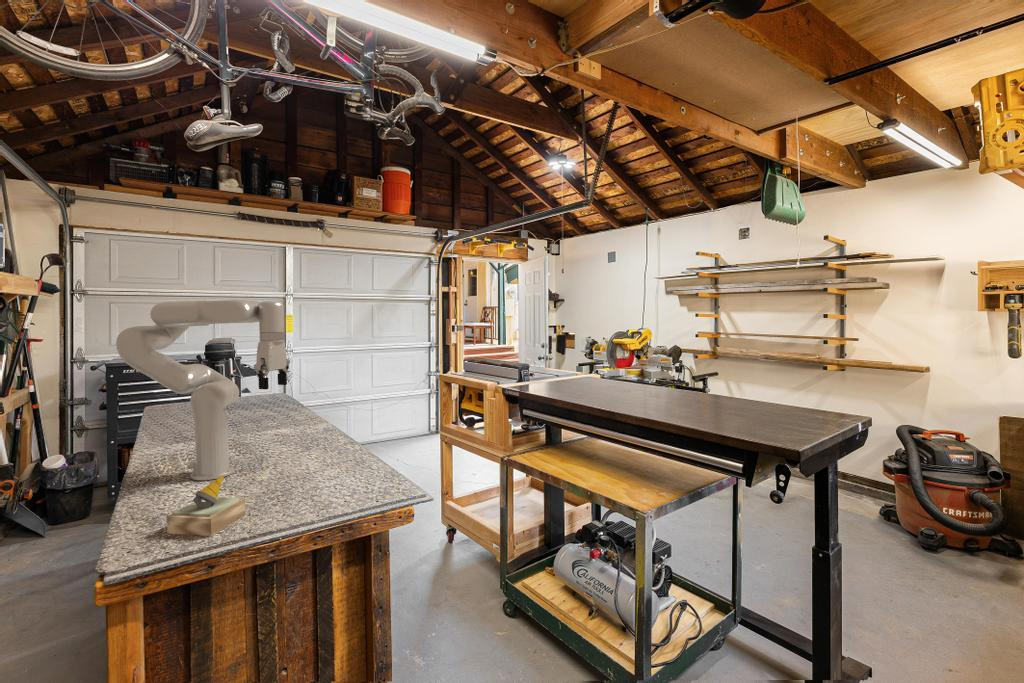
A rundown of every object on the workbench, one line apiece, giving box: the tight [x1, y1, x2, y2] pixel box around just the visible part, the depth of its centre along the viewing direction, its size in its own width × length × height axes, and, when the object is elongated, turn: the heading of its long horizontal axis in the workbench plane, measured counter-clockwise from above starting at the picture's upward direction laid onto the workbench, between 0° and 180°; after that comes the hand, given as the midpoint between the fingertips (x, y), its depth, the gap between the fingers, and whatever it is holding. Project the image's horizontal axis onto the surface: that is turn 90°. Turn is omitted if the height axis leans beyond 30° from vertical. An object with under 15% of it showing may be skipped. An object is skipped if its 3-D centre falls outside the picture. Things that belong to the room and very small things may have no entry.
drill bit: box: [193, 474, 225, 509], centre depth 118 cm, size 5×5×10 cm
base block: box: [166, 496, 246, 537], centre depth 118 cm, size 12×12×5 cm
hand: (273, 386), depth 155 cm, fingers open, 9 cm apart
